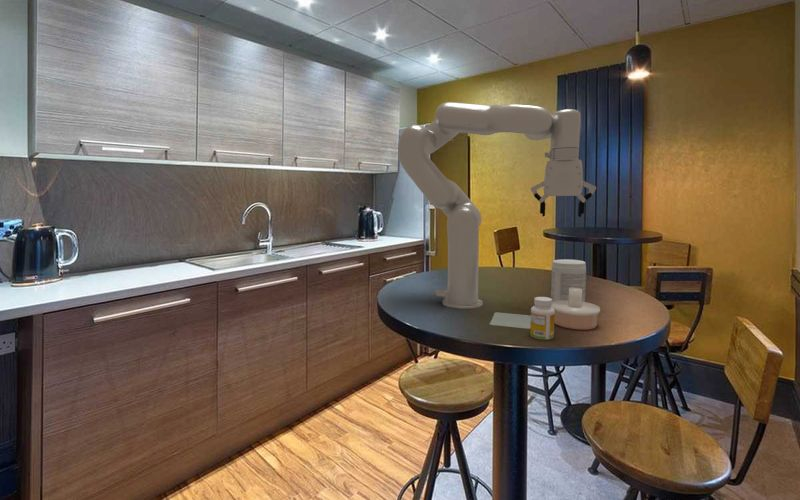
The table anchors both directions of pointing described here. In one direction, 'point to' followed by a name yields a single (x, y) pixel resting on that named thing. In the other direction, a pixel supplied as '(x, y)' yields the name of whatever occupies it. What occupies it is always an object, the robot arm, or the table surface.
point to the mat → (511, 320)
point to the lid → (575, 304)
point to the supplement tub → (567, 278)
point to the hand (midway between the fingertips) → (561, 216)
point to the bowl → (575, 321)
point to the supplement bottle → (542, 318)
